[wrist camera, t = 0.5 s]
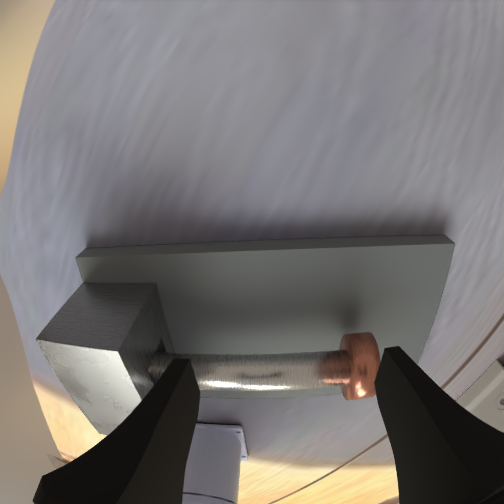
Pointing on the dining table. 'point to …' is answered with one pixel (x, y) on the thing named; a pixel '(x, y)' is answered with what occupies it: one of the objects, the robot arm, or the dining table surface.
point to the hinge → (487, 397)
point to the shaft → (286, 369)
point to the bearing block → (107, 348)
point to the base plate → (286, 293)
